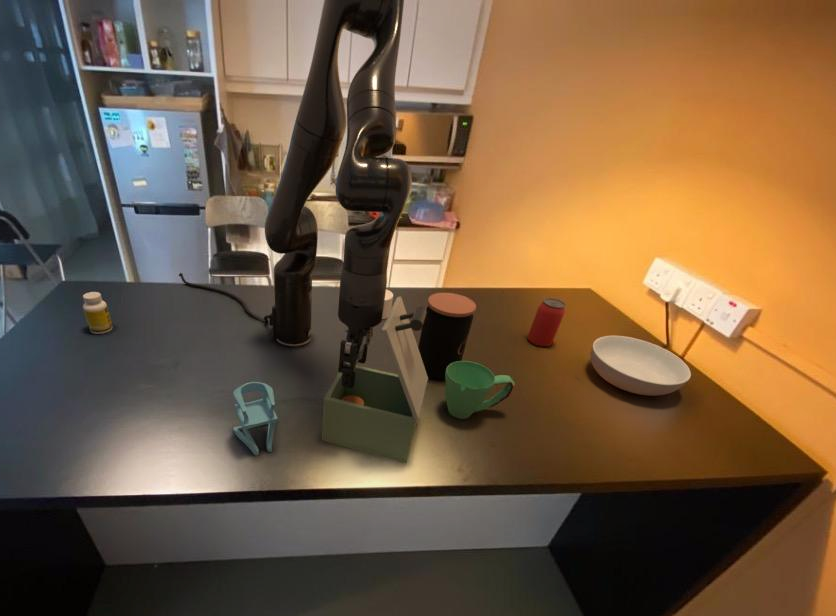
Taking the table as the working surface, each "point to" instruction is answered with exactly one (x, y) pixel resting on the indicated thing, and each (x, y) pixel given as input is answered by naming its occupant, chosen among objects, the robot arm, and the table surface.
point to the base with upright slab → (387, 304)
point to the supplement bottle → (97, 313)
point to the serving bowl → (638, 365)
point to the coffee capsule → (353, 399)
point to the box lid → (407, 352)
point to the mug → (472, 388)
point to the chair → (255, 414)
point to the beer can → (546, 322)
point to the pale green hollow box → (370, 415)
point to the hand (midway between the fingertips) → (354, 373)
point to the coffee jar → (445, 332)
